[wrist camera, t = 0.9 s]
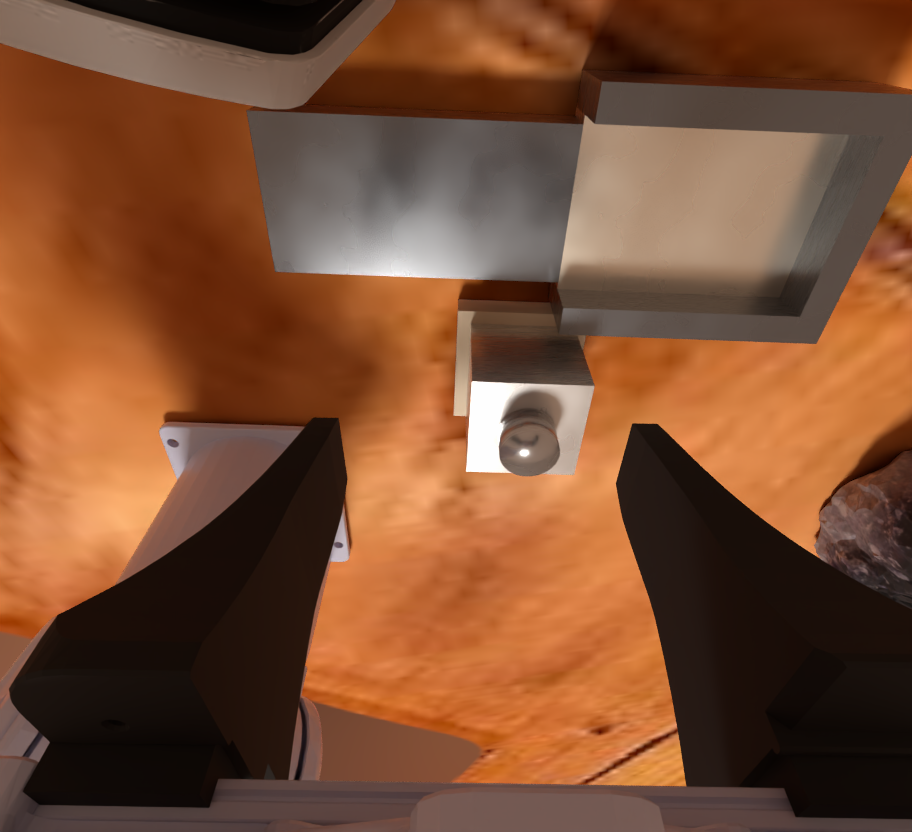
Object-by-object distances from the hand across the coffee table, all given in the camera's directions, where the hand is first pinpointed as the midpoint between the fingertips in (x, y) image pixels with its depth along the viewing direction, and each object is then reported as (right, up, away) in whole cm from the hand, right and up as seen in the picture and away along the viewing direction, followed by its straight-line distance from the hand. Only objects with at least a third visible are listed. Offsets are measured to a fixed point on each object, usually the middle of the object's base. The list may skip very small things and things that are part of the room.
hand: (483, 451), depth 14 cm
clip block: (+2, +3, +9) cm, 9 cm away
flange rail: (+2, +9, +5) cm, 10 cm away
